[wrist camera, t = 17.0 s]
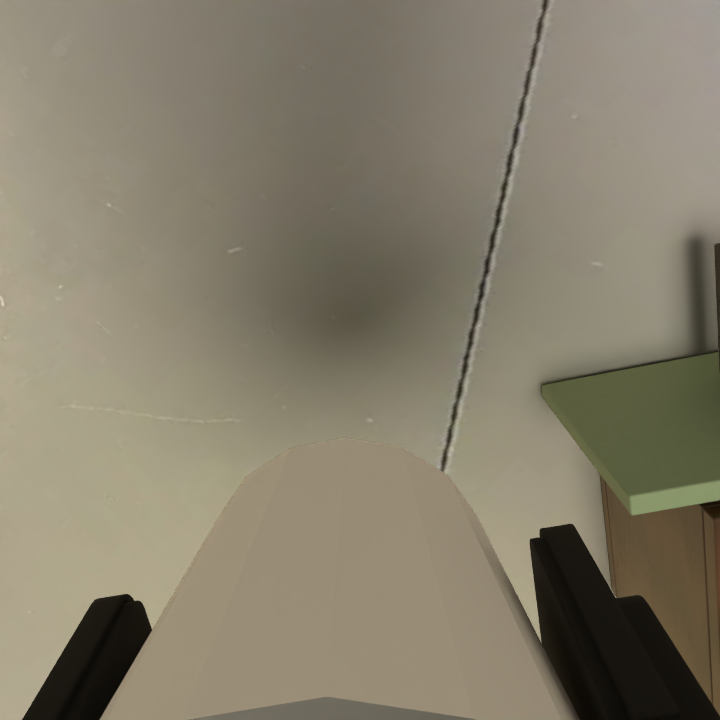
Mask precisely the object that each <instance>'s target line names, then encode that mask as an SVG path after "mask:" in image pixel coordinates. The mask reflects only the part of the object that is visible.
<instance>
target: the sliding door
mask: <svg viewBox="0 0 720 720" xmlns="http://www.w3.org/2000/svg"><path fill="white" fill-rule="evenodd" d="M714 247H715V272H716V297H717V322H718V347H719V352H715V353H710V354H705V355H699V356H694V357H689V358H684V359H678V360H673V361H668V362H662V363H657V364H652V365H647V366H641V367H636V368H631V369H625V370H620V371H615V372H610V373H604V374H599V375H594V376H588V377H583V378H578V379H573V380H567V381H562V382H557V383H551V384H546V385H542V394H543V399H544V400H545V402H546V403H547V404H548V406H549V407H550V408H551V410H552V411H553V412H554V414H555V415H556V416H557V418H558V419H559V420H560V422H561V423H562V424H563V426H564V427H565V428H566V430H567V431H568V432H569V434H570V435H571V436H572V437H573V439H574V440H575V441H576V443H577V444H578V445H579V447H580V448H581V449H582V451H583V452H584V453H585V455H586V456H587V457H588V459H589V460H590V461H591V463H592V464H593V465H594V467H595V468H596V469H597V471H598V472H599V473H600V475H601V476H602V477H603V479H604V480H605V481H606V483H607V484H608V485H609V486H610V488H611V489H612V490H613V492H614V493H615V494H616V496H617V497H618V498H619V500H620V501H621V502H622V504H623V505H624V506H625V508H626V509H627V510H628V512H629V513H630V514H631V515H639V514H645V513H650V512H656V511H662V510H668V509H673V508H679V507H685V506H690V505H696V504H702V503H707V502H713V501H719V500H720V243H718V244H715V246H714Z"/></svg>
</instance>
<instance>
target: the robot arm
mask: <svg viewBox="0 0 720 720" xmlns="http://www.w3.org/2000/svg"><path fill="white" fill-rule="evenodd" d="M530 550H531V558H532V567H533V575H534V583H535V591H536V600H537V608H538V616H539V624H540V633H541V641H542V646H543V648H544V649H545V651H546V653H547V655H548V657H549V659H550V661H551V663H552V665H553V667H554V669H555V671H556V673H557V675H558V677H559V679H560V681H561V683H562V685H563V687H564V689H565V691H566V693H567V695H568V697H569V699H570V701H571V703H572V705H573V707H574V709H575V711H576V713H577V715H578V717H579V719H580V720H720V716H719V714H718V712H717V711H716V709H715V708H714V706H713V705H712V703H711V701H710V700H709V698H708V697H707V695H706V694H705V692H704V691H703V689H702V687H701V686H700V684H699V683H698V681H697V680H696V678H695V676H694V675H693V673H692V672H691V670H690V669H689V667H688V665H687V664H686V662H685V661H684V659H683V658H682V656H681V654H680V653H679V651H678V650H677V648H676V647H675V645H674V643H673V642H672V640H671V639H670V637H669V636H668V634H667V632H666V631H665V629H664V628H663V626H662V625H661V623H660V621H659V620H658V618H657V617H656V615H655V614H654V612H653V610H652V609H651V607H650V606H649V604H648V603H647V602H646V600H645V599H644V598H643V597H642V596H640V595H634V596H627V597H621V598H615V596H614V595H613V593H612V591H611V589H610V588H609V586H608V584H607V582H606V581H605V579H604V577H603V575H602V574H601V572H600V570H599V568H598V567H597V565H596V563H595V561H594V560H593V558H592V556H591V554H590V553H589V551H588V549H587V547H586V546H585V544H584V542H583V540H582V539H581V537H580V535H579V533H578V532H577V530H576V528H575V527H574V525H573V524H567V525H561V526H554V527H548V528H542V529H540V538H533V539H530ZM151 631H152V629H151V626H150V623H149V620H148V617H147V614H146V611H145V608H144V606H143V604H142V603H141V602H140V601H134V600H133V598H132V597H131V596H130V595H128V594H124V595H117V596H111V597H105V598H99V599H96V600H94V602H93V603H92V604H91V606H90V607H89V609H88V611H87V612H86V614H85V616H84V617H83V619H82V621H81V622H80V624H79V626H78V627H77V629H76V631H75V632H74V634H73V636H72V637H71V639H70V641H69V642H68V644H67V646H66V647H65V649H64V651H63V652H62V654H61V656H60V657H59V659H58V661H57V662H56V664H55V666H54V667H53V669H52V671H51V672H50V674H49V676H48V677H47V679H46V681H45V682H44V684H43V686H42V687H41V689H40V691H39V692H38V694H37V696H36V697H35V699H34V701H33V702H32V704H31V706H30V707H29V709H28V711H27V713H26V714H25V716H24V718H23V719H22V720H100V718H101V716H102V715H103V713H104V711H105V710H106V708H107V706H108V705H109V703H110V701H111V699H112V698H113V696H114V694H115V693H116V691H117V689H118V687H119V686H120V684H121V682H122V681H123V679H124V677H125V676H126V674H127V672H128V670H129V669H130V667H131V665H132V664H133V662H134V660H135V659H136V657H137V655H138V653H139V652H140V650H141V648H142V647H143V645H144V643H145V641H146V640H147V638H148V636H149V635H150V633H151Z"/></svg>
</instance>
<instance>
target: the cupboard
mask: <svg viewBox="0 0 720 720" xmlns="http://www.w3.org/2000/svg"><path fill="white" fill-rule="evenodd" d="M600 479H601V489H602V498H603V508H604V517H605V527H606V537H607V546H608V556H609V566H610V575H611V585H612V590H613V592H614V593H615V595H616V597H617V598H621V597H627V596H634V595H640V596H642V597H643V598H644V599H645V600H646V602H647V603H648V604H649V606H650V607H651V609H652V610H653V612H654V614H655V615H656V617H657V618H658V620H659V621H660V623H661V625H662V626H663V628H664V629H665V631H666V632H667V634H668V636H669V637H670V639H671V640H672V642H673V643H674V645H675V647H676V648H677V650H678V651H679V653H680V654H681V656H682V658H683V659H684V661H685V662H686V664H687V665H688V667H689V669H690V670H691V672H692V673H693V675H694V676H695V678H696V680H697V681H698V683H699V684H700V686H701V687H702V689H703V691H704V692H705V694H706V695H707V697H708V698H709V700H710V701H711V703H712V705H713V706H714V708H715V709H716V711H717V712H718V714H719V716H720V500H719V501H713V502H707V503H702V504H696V505H690V506H685V507H679V508H673V509H668V510H662V511H656V512H650V513H645V514H639V515H631V514H630V513H629V512H628V510H627V509H626V508H625V506H624V505H623V504H622V502H621V501H620V500H619V498H618V497H617V496H616V494H615V493H614V492H613V490H612V489H611V488H610V486H609V485H608V484H607V483H606V481H605V480H604V479H603V477H602V476H601V475H600Z"/></svg>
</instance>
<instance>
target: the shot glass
mask: <svg viewBox="0 0 720 720" xmlns="http://www.w3.org/2000/svg"><path fill="white" fill-rule="evenodd" d="M100 720H580V719H579V717H578V715H577V713H576V711H575V709H574V707H573V705H572V703H571V701H570V699H569V697H568V695H567V693H566V691H565V689H564V687H563V685H562V683H561V681H560V679H559V677H558V675H557V673H556V671H555V669H554V667H553V665H552V663H551V661H550V659H549V657H548V655H547V653H546V651H545V649H544V648H543V646H542V644H541V642H540V640H539V638H538V636H537V634H536V632H535V630H534V628H533V626H532V624H531V622H530V620H529V618H528V616H527V614H526V612H525V610H524V608H523V606H522V604H521V602H520V600H519V598H518V596H517V594H516V592H515V590H514V588H513V586H512V584H511V582H510V580H509V578H508V576H507V574H506V572H505V571H504V569H503V567H502V565H501V563H500V561H499V559H498V557H497V555H496V553H495V551H494V549H493V547H492V545H491V543H490V541H489V539H488V537H487V535H486V533H485V531H484V529H483V527H482V525H481V523H480V521H479V519H478V517H477V515H476V514H475V513H474V511H473V510H472V508H471V507H470V506H469V504H468V503H467V501H466V500H465V499H464V497H463V496H462V494H461V493H460V492H459V490H458V489H457V487H456V486H455V485H454V483H453V482H452V480H451V479H450V478H449V476H448V475H447V474H445V473H443V472H442V471H440V470H439V469H437V468H435V467H434V466H432V465H430V464H429V463H427V462H425V461H424V460H422V459H420V458H419V457H417V456H415V455H414V454H412V453H410V452H409V451H407V450H405V449H404V448H402V447H398V446H392V445H386V444H380V443H375V442H369V441H363V440H357V439H352V438H341V439H335V440H330V441H325V442H320V443H315V444H309V445H304V446H299V447H294V448H290V449H288V450H287V451H285V452H284V453H282V454H281V455H279V456H277V457H276V458H274V459H273V460H271V461H269V462H268V463H266V464H265V465H263V466H262V467H260V468H258V469H257V470H255V471H254V472H252V473H251V474H249V475H247V476H246V477H245V478H244V480H243V481H242V483H241V484H240V486H239V487H238V489H237V490H236V492H235V493H234V495H233V496H232V498H231V499H230V501H229V502H228V504H227V505H226V507H225V508H224V510H223V511H222V513H221V514H220V516H219V517H218V519H217V521H216V522H215V524H214V526H213V527H212V529H211V531H210V533H209V534H208V536H207V538H206V539H205V541H204V543H203V544H202V546H201V548H200V550H199V551H198V553H197V555H196V556H195V558H194V560H193V561H192V563H191V565H190V567H189V568H188V570H187V572H186V573H185V575H184V577H183V578H182V580H181V582H180V584H179V585H178V587H177V589H176V590H175V592H174V594H173V596H172V597H171V599H170V601H169V602H168V604H167V606H166V607H165V609H164V611H163V613H162V614H161V616H160V618H159V619H158V621H157V623H156V624H155V626H154V628H153V630H152V631H151V633H150V635H149V636H148V638H147V640H146V641H145V643H144V645H143V647H142V648H141V650H140V652H139V653H138V655H137V657H136V659H135V660H134V662H133V664H132V665H131V667H130V669H129V670H128V672H127V674H126V676H125V677H124V679H123V681H122V682H121V684H120V686H119V687H118V689H117V691H116V693H115V694H114V696H113V698H112V699H111V701H110V703H109V705H108V706H107V708H106V710H105V711H104V713H103V715H102V716H101V718H100Z"/></svg>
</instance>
